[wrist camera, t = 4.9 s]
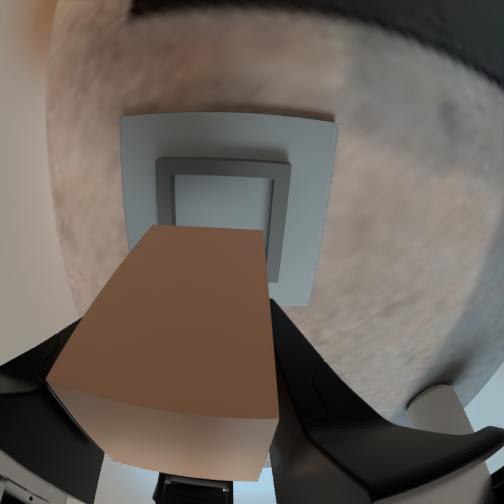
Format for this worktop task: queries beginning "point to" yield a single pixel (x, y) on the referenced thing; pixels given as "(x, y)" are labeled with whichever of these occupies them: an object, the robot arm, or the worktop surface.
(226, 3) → the worktop surface
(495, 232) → the worktop surface
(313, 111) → the worktop surface
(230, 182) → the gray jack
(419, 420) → the can
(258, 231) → the plug
